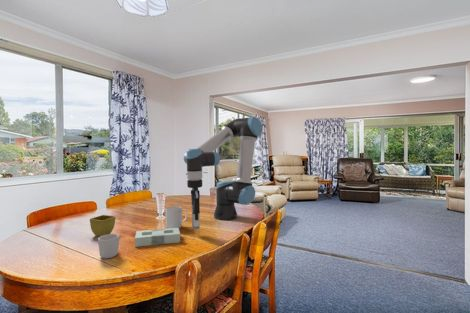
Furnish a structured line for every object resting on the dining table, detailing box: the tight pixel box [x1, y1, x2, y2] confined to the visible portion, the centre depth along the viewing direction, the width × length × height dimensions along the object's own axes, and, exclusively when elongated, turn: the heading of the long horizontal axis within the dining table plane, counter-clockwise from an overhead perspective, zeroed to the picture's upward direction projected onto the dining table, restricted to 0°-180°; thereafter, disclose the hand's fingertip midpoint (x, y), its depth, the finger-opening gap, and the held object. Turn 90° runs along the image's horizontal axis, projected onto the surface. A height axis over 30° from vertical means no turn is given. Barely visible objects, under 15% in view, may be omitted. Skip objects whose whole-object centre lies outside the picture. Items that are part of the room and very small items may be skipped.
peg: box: [191, 203, 201, 230], centre depth 129 cm, size 3×3×12 cm
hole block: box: [134, 228, 181, 248], centre depth 122 cm, size 20×10×4 cm, turn 107°
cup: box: [97, 233, 120, 259], centre depth 106 cm, size 11×8×8 cm
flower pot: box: [89, 214, 116, 237], centre depth 130 cm, size 9×9×9 cm
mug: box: [164, 205, 188, 229], centre depth 143 cm, size 12×9×11 cm
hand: (195, 224), depth 129 cm, fingers closed on peg, 3 cm apart
